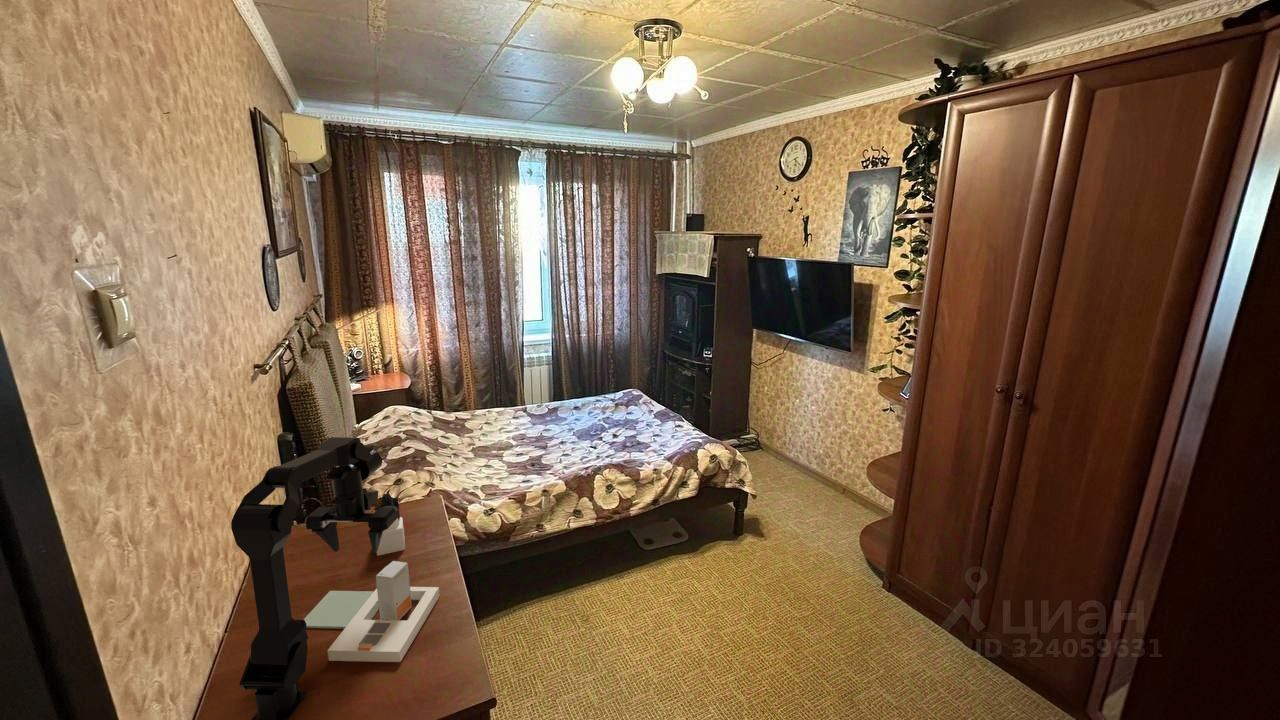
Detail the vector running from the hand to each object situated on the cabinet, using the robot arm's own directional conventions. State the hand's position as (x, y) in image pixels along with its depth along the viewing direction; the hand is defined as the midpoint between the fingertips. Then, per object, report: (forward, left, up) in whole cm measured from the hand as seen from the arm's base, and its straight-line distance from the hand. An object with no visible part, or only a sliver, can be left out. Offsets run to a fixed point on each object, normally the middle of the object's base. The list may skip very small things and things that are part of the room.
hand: (356, 551), depth 121 cm
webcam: (+36, +11, -14) cm, 40 cm away
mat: (-2, +4, -14) cm, 15 cm away
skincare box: (-3, -10, -14) cm, 18 cm away
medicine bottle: (+24, +5, -14) cm, 28 cm away
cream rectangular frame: (-8, -10, -14) cm, 19 cm away
